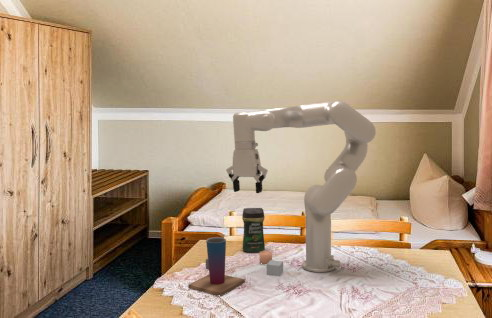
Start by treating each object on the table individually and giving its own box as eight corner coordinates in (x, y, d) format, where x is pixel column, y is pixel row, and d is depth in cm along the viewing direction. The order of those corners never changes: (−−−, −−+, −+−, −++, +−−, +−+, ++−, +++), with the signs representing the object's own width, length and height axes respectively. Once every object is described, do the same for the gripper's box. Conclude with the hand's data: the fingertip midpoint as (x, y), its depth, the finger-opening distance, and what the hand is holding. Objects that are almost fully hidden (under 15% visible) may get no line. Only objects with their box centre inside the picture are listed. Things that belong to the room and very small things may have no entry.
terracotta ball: (272, 260, 189) (272, 250, 188) (272, 264, 184) (271, 255, 183) (259, 260, 189) (259, 250, 188) (259, 264, 184) (259, 255, 184)
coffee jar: (243, 253, 199) (242, 210, 196) (242, 248, 206) (241, 206, 204) (266, 252, 199) (265, 209, 197) (264, 247, 207) (263, 205, 205)
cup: (224, 286, 160) (223, 243, 158) (205, 284, 161) (203, 242, 159) (229, 278, 166) (228, 237, 165) (210, 277, 168) (209, 236, 166)
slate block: (283, 271, 176) (283, 261, 176) (279, 276, 172) (279, 265, 171) (270, 270, 178) (270, 260, 178) (266, 275, 173) (266, 264, 173)
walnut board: (244, 282, 166) (244, 279, 165) (220, 296, 154) (220, 292, 154) (213, 275, 174) (213, 272, 173) (188, 287, 162) (188, 284, 162)
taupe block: (224, 268, 181) (224, 258, 181) (219, 271, 178) (219, 261, 177) (211, 266, 184) (210, 256, 183) (205, 269, 180) (205, 259, 180)
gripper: (270, 144, 171) (273, 191, 173) (231, 145, 180) (233, 189, 182) (260, 147, 164) (262, 195, 166) (219, 147, 174) (222, 192, 176)
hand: (247, 191), depth 174 cm, fingers open, 9 cm apart
